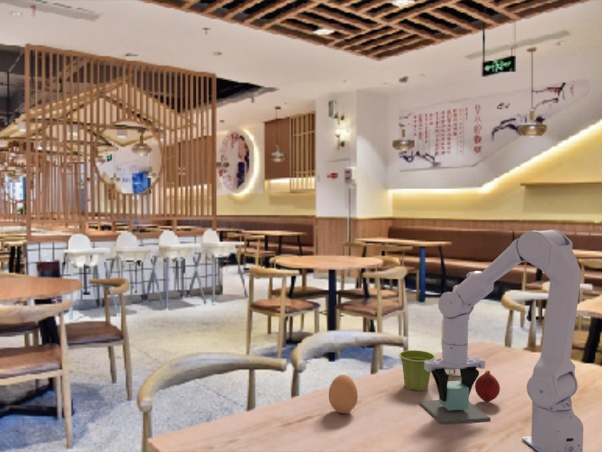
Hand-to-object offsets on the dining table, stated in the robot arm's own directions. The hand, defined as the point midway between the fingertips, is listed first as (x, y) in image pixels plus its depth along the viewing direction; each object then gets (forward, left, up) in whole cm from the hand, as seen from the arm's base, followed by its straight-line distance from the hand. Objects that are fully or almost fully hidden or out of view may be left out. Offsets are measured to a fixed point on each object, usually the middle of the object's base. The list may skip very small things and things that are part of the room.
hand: (453, 399), depth 124 cm
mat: (0, 0, -3) cm, 3 cm away
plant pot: (+17, +2, -3) cm, 17 cm away
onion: (+4, -11, -3) cm, 12 cm away
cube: (0, 0, -2) cm, 2 cm away
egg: (+4, +26, -3) cm, 26 cm away
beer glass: (+26, -13, -3) cm, 29 cm away
